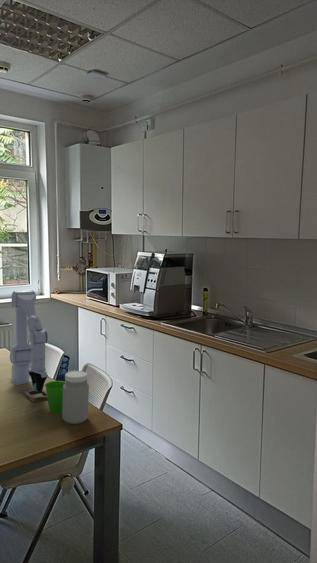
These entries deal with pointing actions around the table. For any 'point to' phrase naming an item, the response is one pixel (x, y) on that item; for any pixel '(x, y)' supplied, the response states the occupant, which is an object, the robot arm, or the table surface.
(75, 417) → the jar
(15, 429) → the table surface
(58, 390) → the cup
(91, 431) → the table surface
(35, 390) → the ball
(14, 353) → the robot arm
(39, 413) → the table surface
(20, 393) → the coaster
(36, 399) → the tray
